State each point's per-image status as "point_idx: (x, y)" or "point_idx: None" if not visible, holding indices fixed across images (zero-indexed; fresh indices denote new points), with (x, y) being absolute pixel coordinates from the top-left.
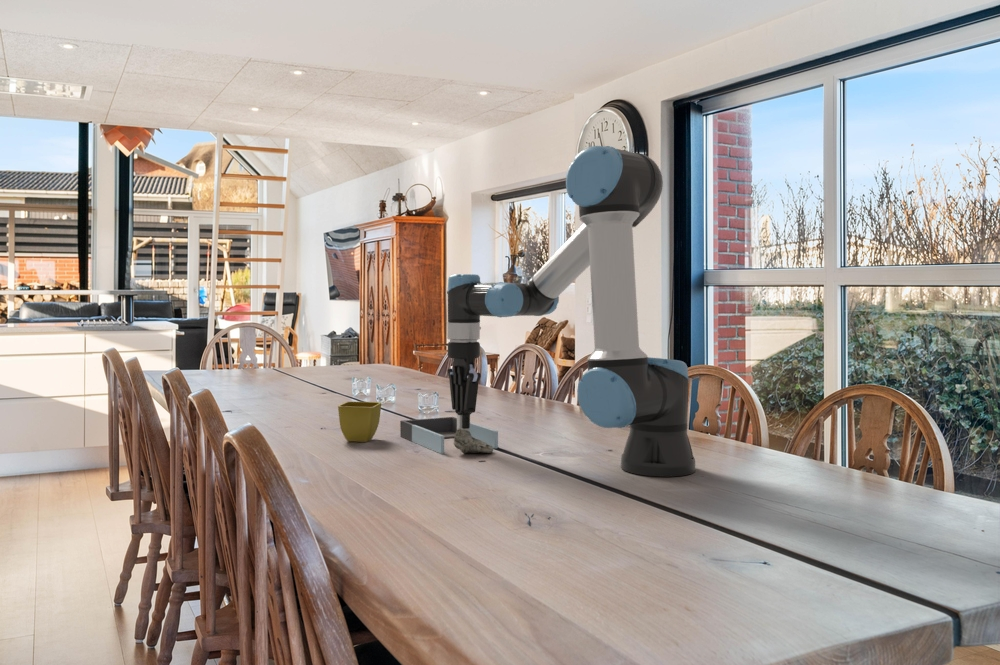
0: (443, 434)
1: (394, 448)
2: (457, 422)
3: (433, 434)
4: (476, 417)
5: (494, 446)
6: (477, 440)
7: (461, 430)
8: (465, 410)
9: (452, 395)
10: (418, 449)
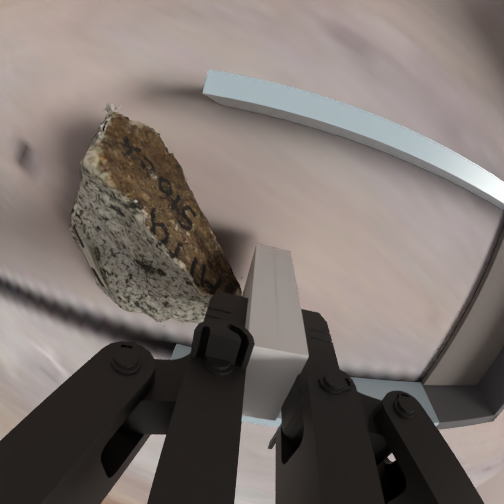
0: (478, 347)
1: (462, 44)
2: (289, 309)
3: (338, 102)
4: (479, 461)
5: (178, 349)
6: (149, 284)
7: (113, 195)
8: (105, 356)
9: (448, 500)
10: (391, 85)
